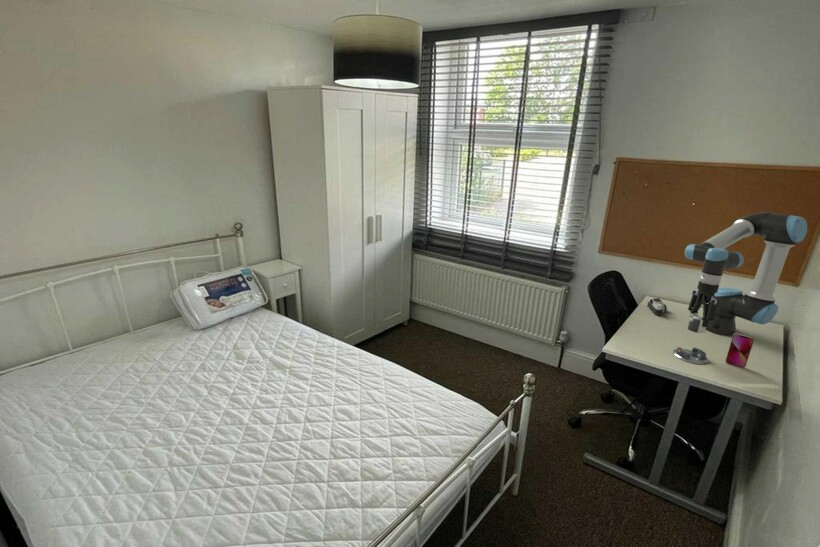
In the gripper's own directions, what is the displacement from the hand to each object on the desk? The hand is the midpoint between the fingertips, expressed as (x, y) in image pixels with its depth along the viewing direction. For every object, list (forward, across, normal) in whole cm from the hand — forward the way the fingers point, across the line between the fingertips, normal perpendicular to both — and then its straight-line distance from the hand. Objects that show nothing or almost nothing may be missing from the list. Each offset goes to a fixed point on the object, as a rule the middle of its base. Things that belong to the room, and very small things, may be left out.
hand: (696, 329), depth 185 cm
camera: (+13, -51, +15) cm, 55 cm away
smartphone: (+14, +8, +16) cm, 23 cm away
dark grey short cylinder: (0, 0, 0) cm, 1 cm away
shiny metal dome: (+14, +1, 0) cm, 14 cm away
